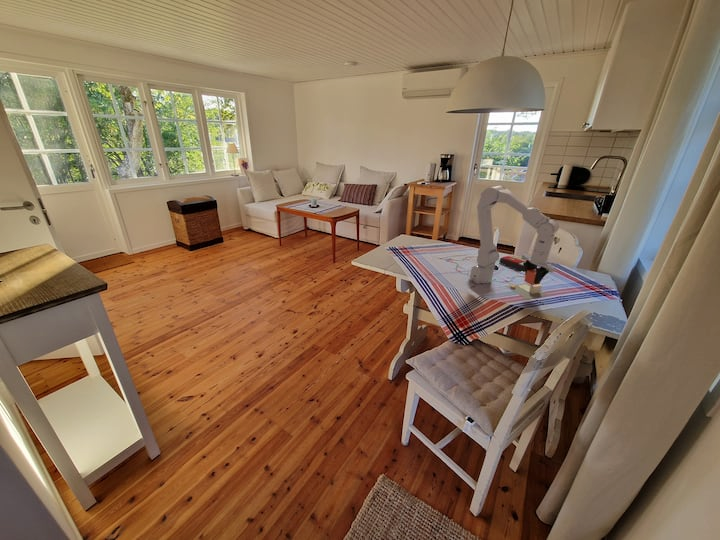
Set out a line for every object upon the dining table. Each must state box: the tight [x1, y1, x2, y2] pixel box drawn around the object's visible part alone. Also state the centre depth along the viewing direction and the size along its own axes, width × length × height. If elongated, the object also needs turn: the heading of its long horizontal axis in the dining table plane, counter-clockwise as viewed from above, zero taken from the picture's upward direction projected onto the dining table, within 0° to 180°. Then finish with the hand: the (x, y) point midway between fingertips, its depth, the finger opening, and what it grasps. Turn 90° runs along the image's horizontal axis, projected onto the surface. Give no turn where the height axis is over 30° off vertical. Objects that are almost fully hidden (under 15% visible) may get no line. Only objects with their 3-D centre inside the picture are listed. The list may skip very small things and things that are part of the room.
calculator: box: [499, 254, 538, 273], centre depth 157 cm, size 11×4×15 cm
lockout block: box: [523, 269, 541, 285], centre depth 120 cm, size 4×4×5 cm
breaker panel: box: [505, 282, 550, 300], centre depth 128 cm, size 12×12×2 cm
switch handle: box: [529, 284, 543, 293], centre depth 126 cm, size 4×2×3 cm, turn 108°
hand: (532, 281), depth 121 cm, fingers closed on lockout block, 4 cm apart
